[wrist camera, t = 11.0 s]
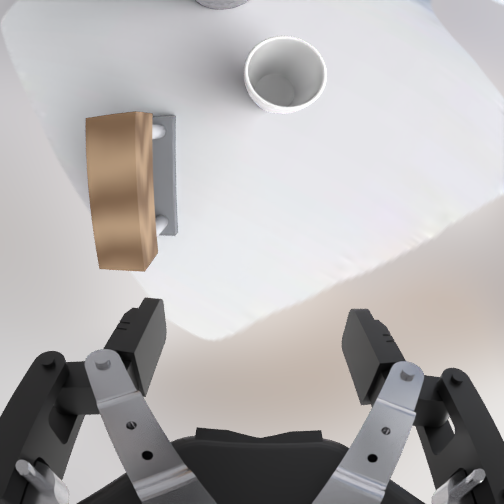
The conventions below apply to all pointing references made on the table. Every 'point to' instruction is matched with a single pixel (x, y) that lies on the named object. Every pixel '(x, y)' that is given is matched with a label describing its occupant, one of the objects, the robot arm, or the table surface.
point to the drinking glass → (284, 74)
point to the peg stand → (164, 175)
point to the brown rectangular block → (122, 189)
